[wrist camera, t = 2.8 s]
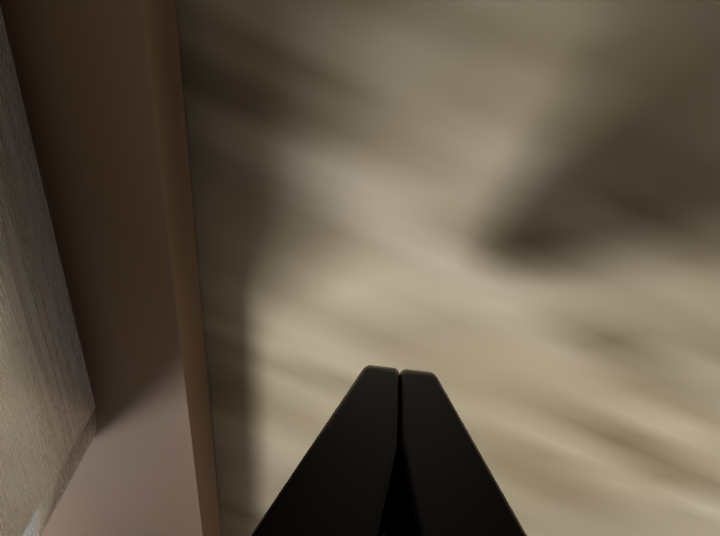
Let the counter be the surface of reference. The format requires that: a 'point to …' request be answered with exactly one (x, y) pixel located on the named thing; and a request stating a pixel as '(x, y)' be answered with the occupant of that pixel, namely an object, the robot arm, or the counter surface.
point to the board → (123, 257)
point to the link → (34, 335)
